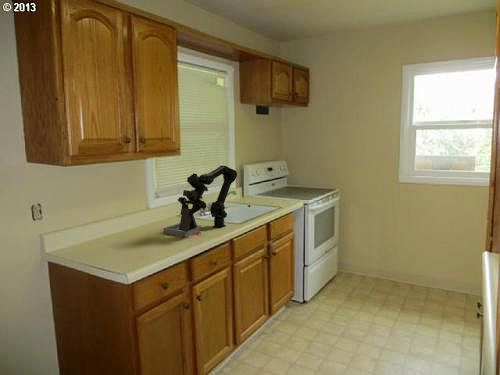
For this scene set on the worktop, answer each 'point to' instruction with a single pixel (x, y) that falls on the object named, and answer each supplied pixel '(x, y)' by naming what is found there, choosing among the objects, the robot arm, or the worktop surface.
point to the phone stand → (187, 221)
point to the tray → (175, 230)
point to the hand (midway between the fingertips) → (185, 215)
